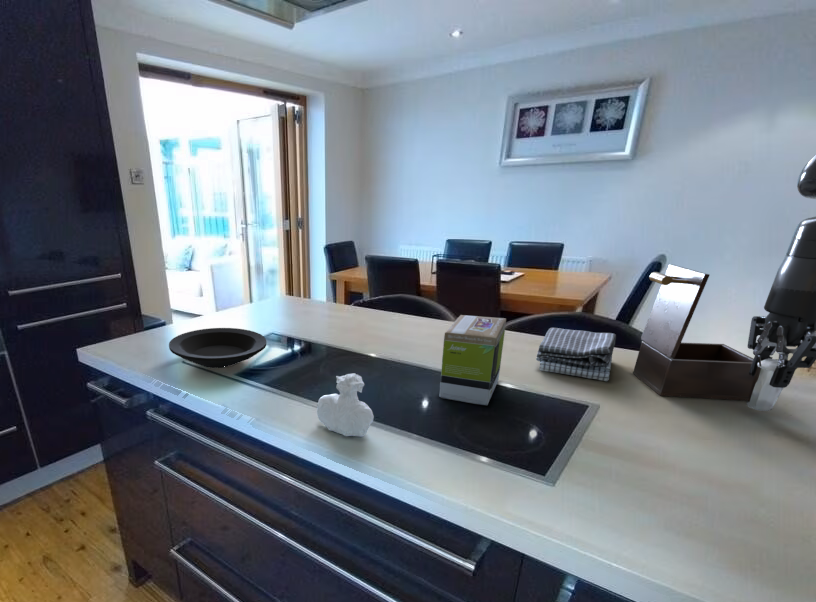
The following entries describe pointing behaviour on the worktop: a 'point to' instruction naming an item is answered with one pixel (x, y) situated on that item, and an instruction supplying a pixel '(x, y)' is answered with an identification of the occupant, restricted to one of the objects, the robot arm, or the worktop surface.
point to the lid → (673, 307)
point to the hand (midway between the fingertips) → (766, 380)
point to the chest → (696, 371)
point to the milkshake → (764, 386)
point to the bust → (345, 408)
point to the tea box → (472, 359)
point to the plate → (217, 346)
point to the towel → (577, 353)
